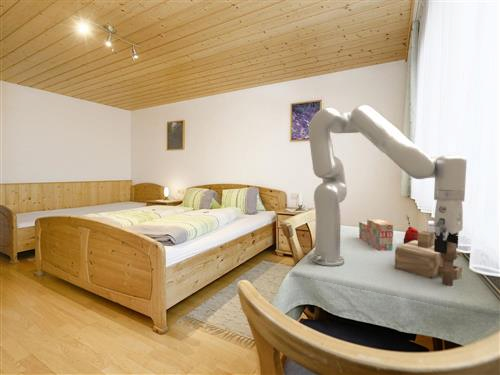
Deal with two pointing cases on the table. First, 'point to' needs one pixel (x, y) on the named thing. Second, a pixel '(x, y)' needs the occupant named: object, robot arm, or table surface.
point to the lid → (423, 245)
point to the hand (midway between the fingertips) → (446, 249)
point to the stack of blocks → (377, 234)
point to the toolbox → (422, 265)
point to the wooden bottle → (448, 264)
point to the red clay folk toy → (410, 234)
